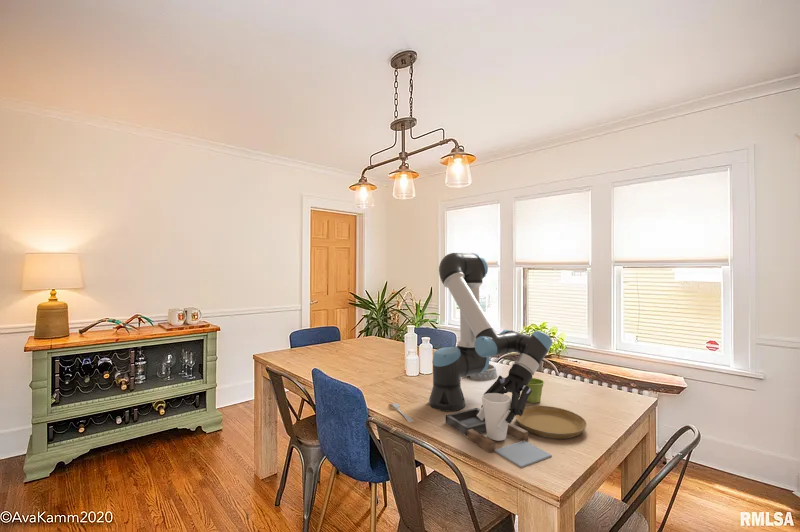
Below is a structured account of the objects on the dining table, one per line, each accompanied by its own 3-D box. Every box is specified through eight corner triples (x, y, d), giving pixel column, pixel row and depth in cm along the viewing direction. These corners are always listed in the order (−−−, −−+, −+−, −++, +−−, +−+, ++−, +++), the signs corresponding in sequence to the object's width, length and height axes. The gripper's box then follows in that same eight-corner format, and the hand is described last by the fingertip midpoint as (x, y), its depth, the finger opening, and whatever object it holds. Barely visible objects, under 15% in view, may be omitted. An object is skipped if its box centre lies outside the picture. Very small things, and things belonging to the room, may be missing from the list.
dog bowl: (483, 369, 210) (482, 360, 210) (504, 378, 193) (504, 368, 193) (457, 373, 203) (457, 363, 203) (477, 382, 186) (476, 372, 186)
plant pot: (546, 405, 154) (546, 384, 154) (522, 404, 156) (522, 383, 156) (542, 397, 163) (542, 378, 163) (520, 396, 165) (520, 377, 165)
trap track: (443, 423, 137) (443, 415, 137) (478, 414, 145) (478, 407, 145) (489, 452, 115) (489, 443, 115) (528, 440, 123) (528, 431, 123)
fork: (408, 429, 138) (408, 422, 138) (387, 405, 157) (387, 398, 157) (414, 428, 140) (415, 421, 139) (393, 404, 158) (393, 397, 158)
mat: (494, 451, 116) (494, 449, 116) (524, 441, 122) (524, 440, 122) (521, 467, 106) (521, 466, 106) (551, 456, 112) (551, 454, 112)
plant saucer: (550, 448, 118) (550, 438, 118) (501, 420, 140) (501, 411, 140) (602, 434, 128) (602, 424, 128) (549, 410, 150) (549, 402, 150)
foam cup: (480, 439, 122) (479, 400, 122) (484, 428, 130) (484, 391, 130) (509, 444, 118) (509, 404, 118) (512, 432, 127) (512, 395, 127)
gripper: (554, 384, 122) (520, 443, 114) (506, 368, 141) (474, 418, 134) (543, 371, 119) (507, 430, 112) (495, 356, 139) (462, 406, 131)
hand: (489, 423), depth 123 cm, fingers closed on foam cup, 9 cm apart
